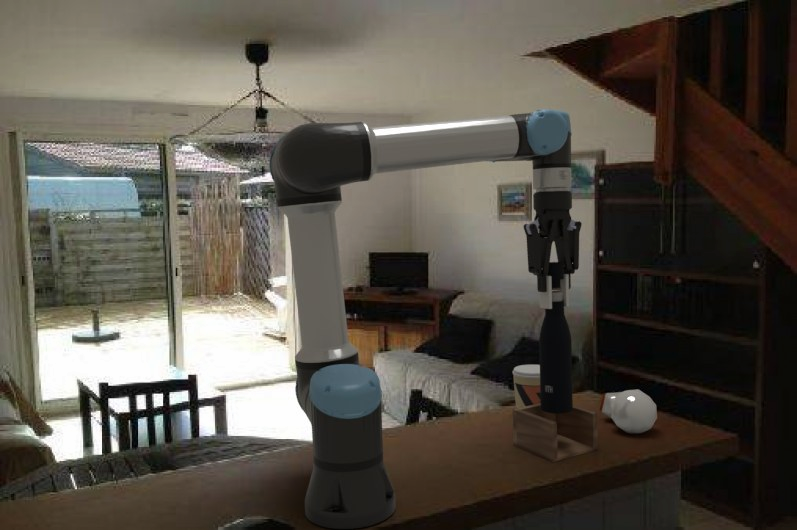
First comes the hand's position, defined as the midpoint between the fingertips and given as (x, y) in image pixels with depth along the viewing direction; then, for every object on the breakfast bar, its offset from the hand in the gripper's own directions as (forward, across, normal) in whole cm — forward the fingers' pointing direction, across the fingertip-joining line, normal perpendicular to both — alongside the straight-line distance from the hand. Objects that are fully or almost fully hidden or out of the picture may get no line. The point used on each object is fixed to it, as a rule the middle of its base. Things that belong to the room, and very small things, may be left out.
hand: (554, 306), depth 139 cm
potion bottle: (+30, +21, +1) cm, 36 cm away
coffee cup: (+29, +9, +18) cm, 35 cm away
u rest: (+29, 0, 0) cm, 29 cm away
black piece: (+21, 0, 0) cm, 21 cm away
